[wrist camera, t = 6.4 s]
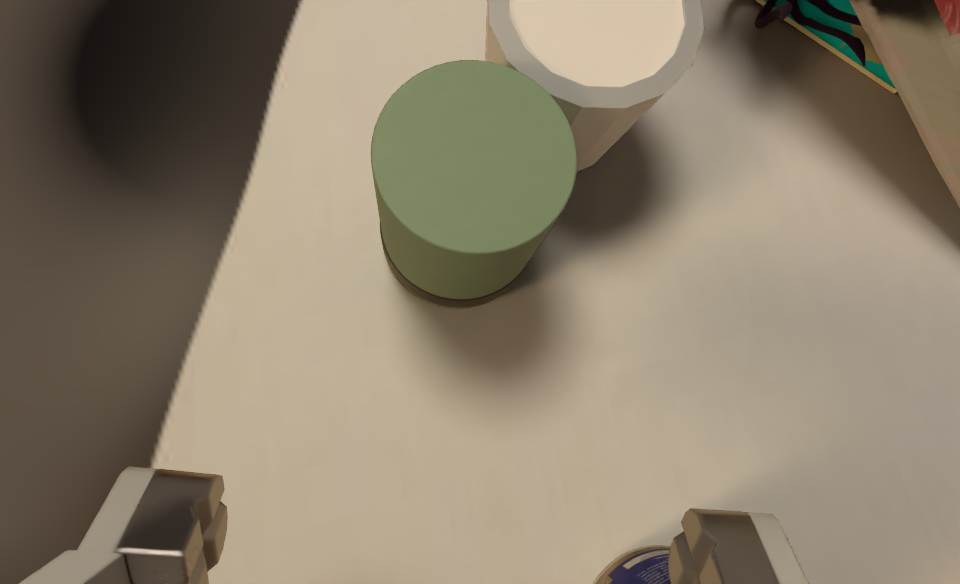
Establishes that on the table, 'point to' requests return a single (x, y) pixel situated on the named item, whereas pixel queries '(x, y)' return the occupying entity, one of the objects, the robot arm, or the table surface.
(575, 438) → the table surface
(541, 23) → the white cup
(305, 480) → the table surface
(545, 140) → the green cylinder
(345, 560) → the table surface
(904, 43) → the decorative tile
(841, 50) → the diorama
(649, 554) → the pill bottle
